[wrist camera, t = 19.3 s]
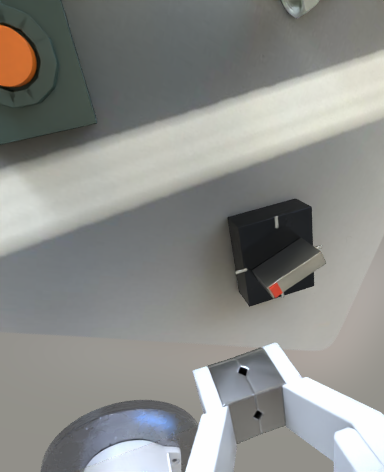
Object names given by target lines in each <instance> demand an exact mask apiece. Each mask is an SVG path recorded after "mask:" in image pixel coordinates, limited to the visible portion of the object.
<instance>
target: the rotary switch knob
mask: <svg viewBox="0 0 384 472" xmlns="http://www.w3.org/2000/svg"><path fill="white" fill-rule="evenodd" d="M325 264H326V261H325V259H324V257H323V255H322V252H321V251H320V250H318V249H317V248H315V247H314V246H312V245H311V244H310V243H308V242H307V241H305V240H304V239H303V238H300V239H298V240H297V241H295V242H294V243H292V244H291V245H289V246H288V247H286V248H285V249H283V250H282V251H280V252H279V253H277V254H276V255H274V256H273V257H271V258H270V259H268V260H267V261H265V262H264V263H262V264H261V265H259V266H258V267H256V268H255V269H253V270H252V271H253V273H254V275H255V276H256V278H257V280H258V281H259V282H260V283H261V285H262V286H263V287H264V288H265V289H266V290H267V292H268V293H269V294H270V295H271V296H272V298H276V297H278V296H279V295H281V294H282V293H283V292H284V291H285V290H287V289H288V288H290V287H291V286H293V285H294V284H296V283H297V282H299V281H300V280H302V279H303V278H305V277H306V276H308V275H310V274H311V273H313V272H314V271H316V270H317V269H319V268H320V267H322V266H323V265H325Z"/></svg>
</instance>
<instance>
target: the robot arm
mask: <svg viewBox="0 0 384 472" xmlns="http://www.w3.org/2000/svg"><path fill="white" fill-rule="evenodd" d="M193 375H194V378H195V383H196V387H197V390H198V394H199V398H200V402H201V405H202V409H203V412H204V414H203V415H202V416H201V419H200V423H199V426H198V430H197V433H196V436H195V440H194V443H193V447H192V450H191V454H190V457H189V460H188V464H187V467H186V471H185V472H234V464H235V457H236V450H237V444H239V443H241V442H243V441H246V440H248V439H250V438H253V437H255V436H258V435H260V434H263V433H266V432H269V431H271V430H274V429H277V428H280V427H283V426H286V427H287V428H289V429H290V430H291V431H293V432H294V433H295V434H297V435H298V436H299V437H301V438H302V439H304V440H305V441H306V442H308V443H309V444H310V445H312V446H313V447H314V448H316V449H317V450H319V451H320V452H321V453H323V454H324V455H325V456H327V457H328V458H330V459H331V460H332V461H334V472H384V415H383V414H382V413H381V412H379V411H376V410H374V409H372V408H370V407H368V406H366V405H364V404H362V403H360V402H358V401H356V400H354V399H352V398H349V397H347V396H345V395H343V394H341V393H339V392H337V391H335V390H333V389H331V388H328V387H327V386H324V385H322V384H320V383H318V382H316V381H314V380H312V379H310V378H308V377H305V378H302V377H301V376H300V374H299V373H298V372H297V370H296V369H295V367H294V366H293V364H292V363H291V362H290V360H289V359H288V357H287V356H286V355H285V353H284V352H283V350H282V349H281V347H280V346H279V345H278V344H277V343H273V344H270V345H267V346H264V347H262V348H258V349H255V350H252V351H250V352H247V353H244V354H241V355H238V356H236V357H234V358H230V359H227V360H224V361H221V362H218V363H215V364H211V365H208V366H206V367H203V368H200V369H196V370H193ZM84 472H181V450H180V448H178V447H172V446H162V445H159V444H157V443H154V442H151V441H145V440H132V441H126V442H122V443H118V444H115V445H113V446H110V447H108V448H106V449H104V450H103V451H101V452H100V453H98V454H97V455H96V456H95V457H93V458H92V459H91V460H90V462H89V463H88V464H87V466H86V468H85V470H84Z"/></svg>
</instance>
